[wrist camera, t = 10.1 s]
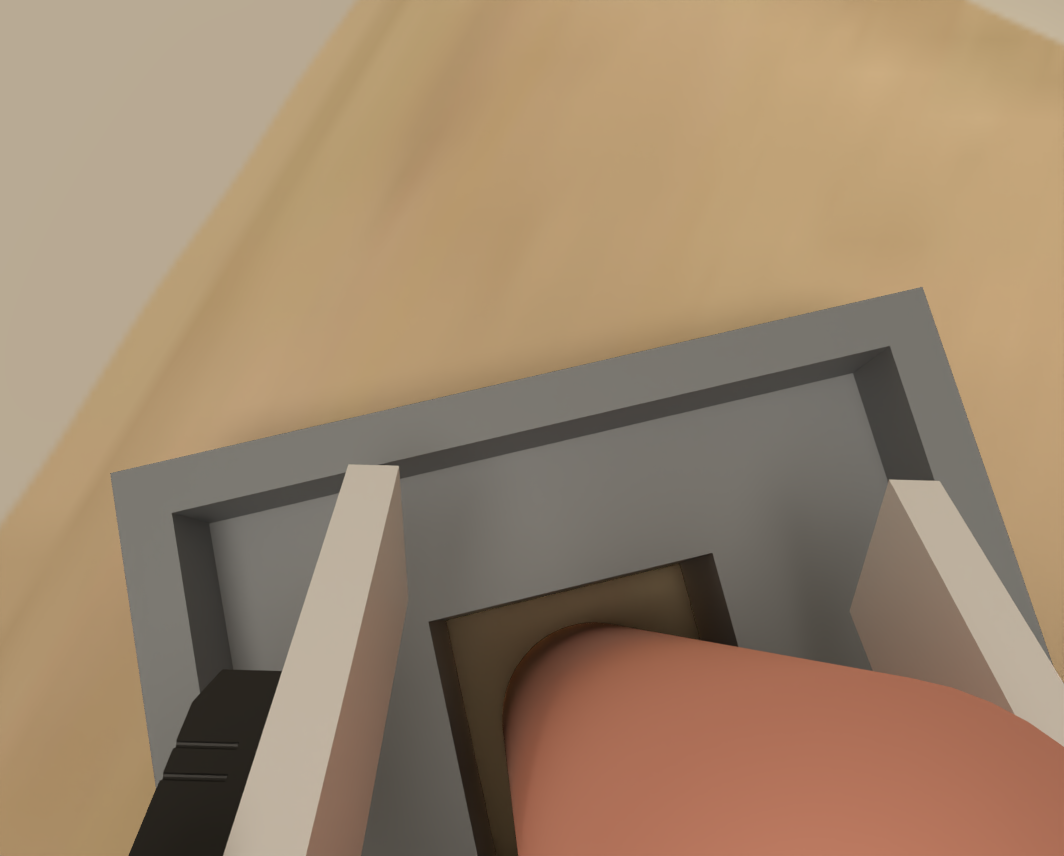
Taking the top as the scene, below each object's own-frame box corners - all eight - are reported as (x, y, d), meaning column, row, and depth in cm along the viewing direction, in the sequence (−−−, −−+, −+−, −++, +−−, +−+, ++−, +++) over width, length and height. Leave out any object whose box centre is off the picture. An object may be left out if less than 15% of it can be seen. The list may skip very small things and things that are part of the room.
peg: (661, 603, 22) (1083, 607, 6) (709, 790, 21) (1323, 1310, 6) (483, 647, 22) (474, 764, 6) (526, 839, 21) (643, 1545, 5)
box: (823, 369, 23) (922, 287, 18) (1002, 937, 21) (1190, 1065, 15) (218, 509, 23) (110, 473, 17) (321, 1122, 20) (235, 1334, 14)
